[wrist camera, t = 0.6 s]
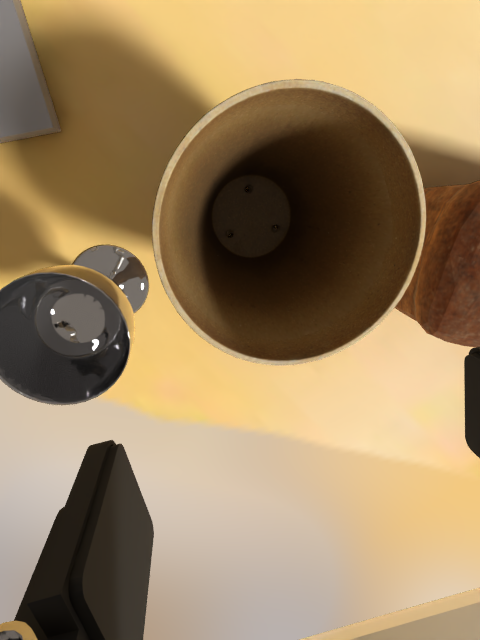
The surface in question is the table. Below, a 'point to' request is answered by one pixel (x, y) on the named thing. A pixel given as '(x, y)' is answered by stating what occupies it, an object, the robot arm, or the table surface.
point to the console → (22, 80)
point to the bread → (448, 267)
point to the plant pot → (289, 222)
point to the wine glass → (71, 326)
